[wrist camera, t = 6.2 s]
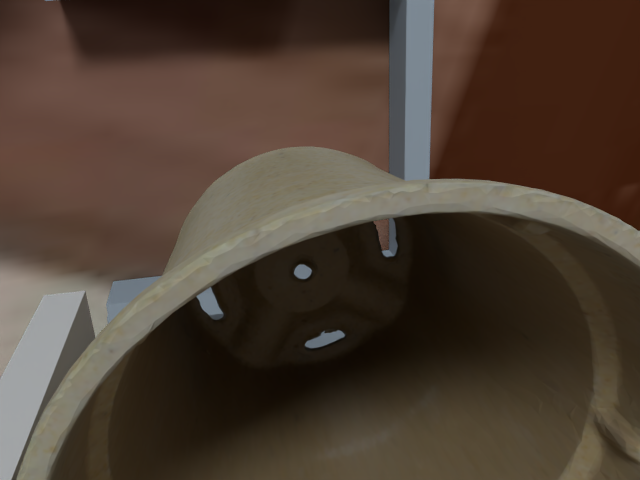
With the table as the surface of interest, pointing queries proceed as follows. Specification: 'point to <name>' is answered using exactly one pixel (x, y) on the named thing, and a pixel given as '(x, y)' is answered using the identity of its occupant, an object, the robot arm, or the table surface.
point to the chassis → (404, 135)
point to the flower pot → (365, 339)
